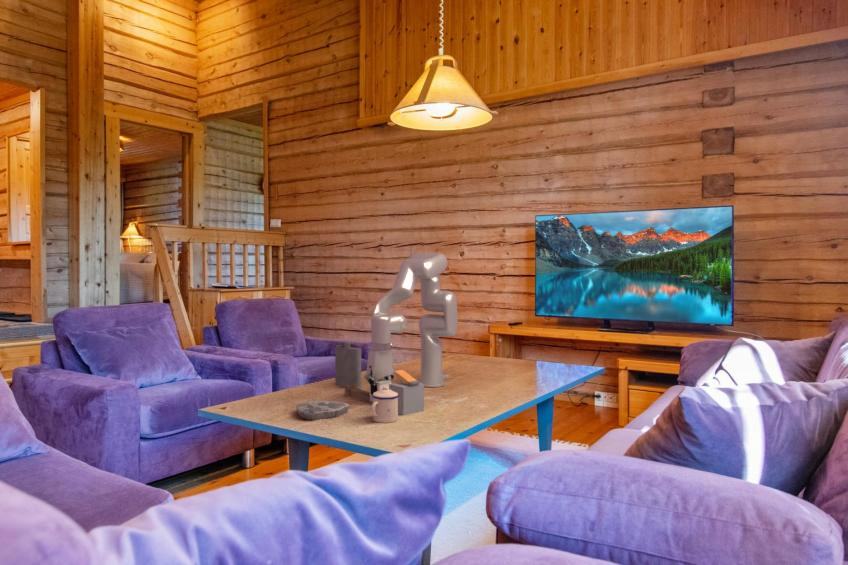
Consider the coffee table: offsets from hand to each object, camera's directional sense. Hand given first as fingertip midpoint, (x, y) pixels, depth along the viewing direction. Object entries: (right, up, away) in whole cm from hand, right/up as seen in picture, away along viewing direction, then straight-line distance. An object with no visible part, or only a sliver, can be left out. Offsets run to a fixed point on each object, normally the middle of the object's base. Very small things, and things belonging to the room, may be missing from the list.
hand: (380, 393), depth 228 cm
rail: (-3, -4, +3) cm, 5 cm away
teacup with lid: (+3, -5, -24) cm, 25 cm away
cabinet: (+10, -5, -11) cm, 15 cm away
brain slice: (-21, -5, -16) cm, 27 cm away
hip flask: (-17, -3, +31) cm, 35 cm away
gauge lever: (+10, +7, -11) cm, 16 cm away
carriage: (0, -4, 0) cm, 4 cm away
